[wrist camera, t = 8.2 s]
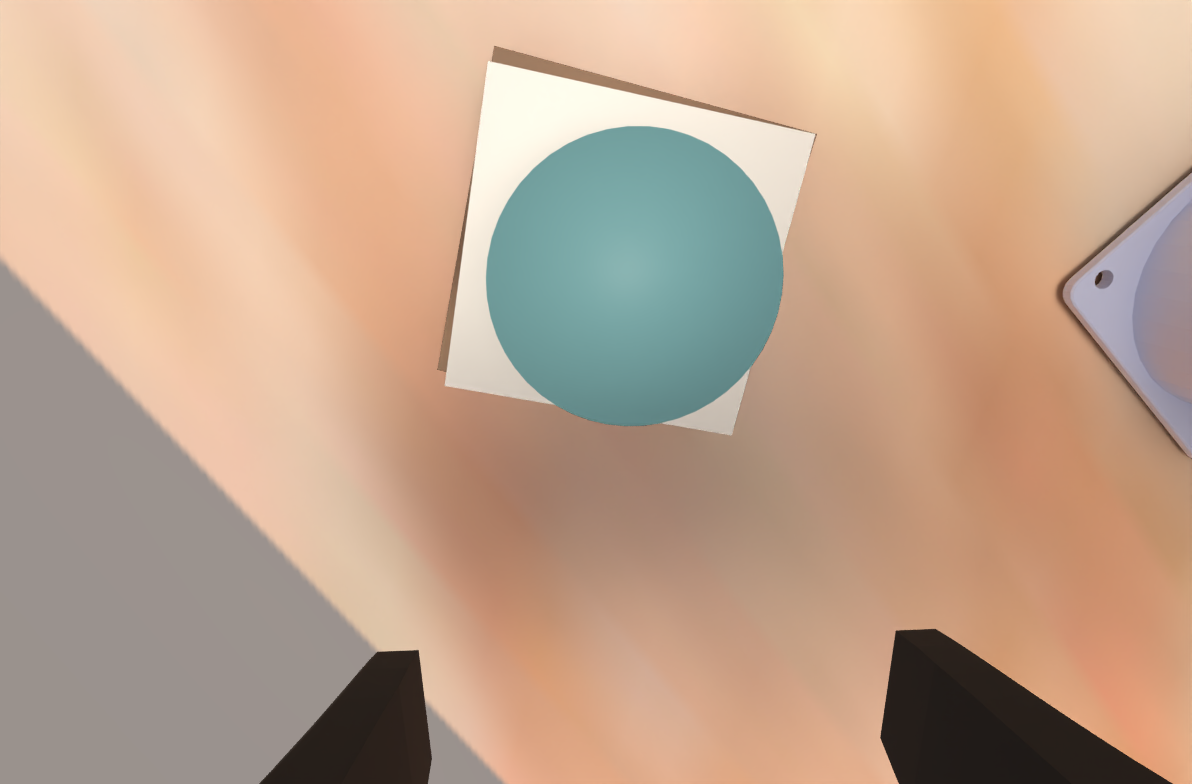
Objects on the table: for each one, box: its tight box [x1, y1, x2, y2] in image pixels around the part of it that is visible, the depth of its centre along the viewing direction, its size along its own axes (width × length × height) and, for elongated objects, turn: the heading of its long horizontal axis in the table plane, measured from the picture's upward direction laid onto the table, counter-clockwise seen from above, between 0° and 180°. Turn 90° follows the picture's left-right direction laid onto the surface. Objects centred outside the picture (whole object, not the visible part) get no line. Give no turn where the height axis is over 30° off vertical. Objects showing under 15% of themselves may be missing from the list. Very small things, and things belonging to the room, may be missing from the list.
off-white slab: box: [445, 61, 815, 435], centre depth 15 cm, size 7×7×2 cm
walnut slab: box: [437, 46, 817, 372], centre depth 18 cm, size 8×8×2 cm
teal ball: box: [486, 126, 783, 426], centre depth 12 cm, size 5×5×5 cm
